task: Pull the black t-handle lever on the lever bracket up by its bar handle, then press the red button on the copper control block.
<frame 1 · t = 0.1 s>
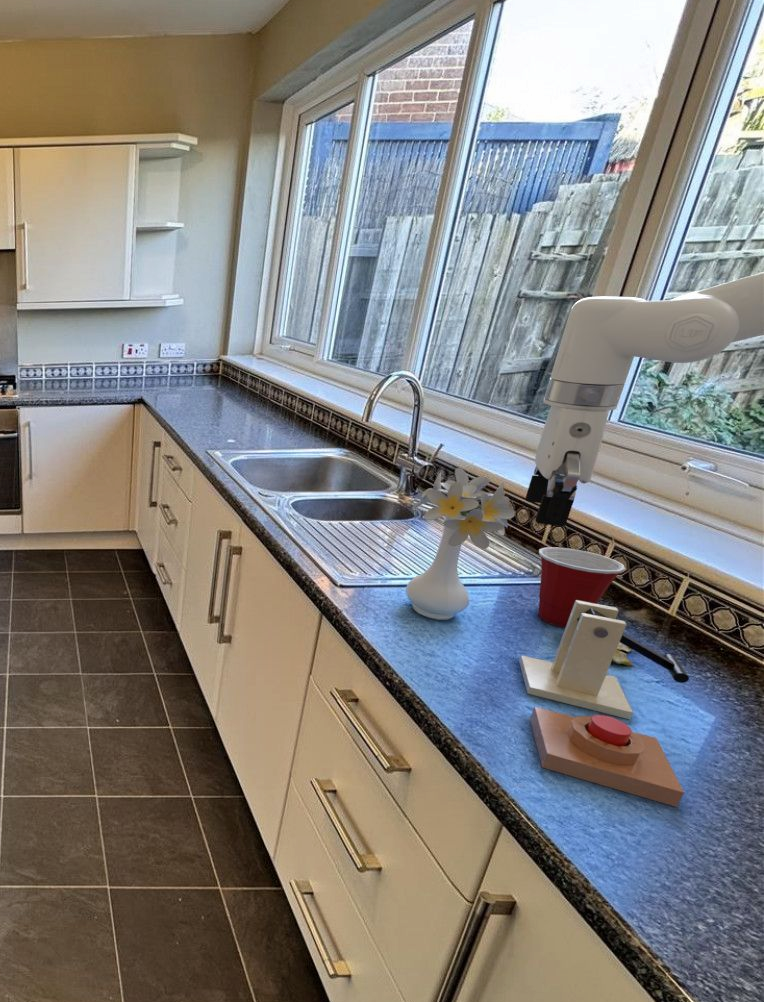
hand: (543, 512, 89), 24 cm above the countertop, tool pointing down, fingers open, 9 cm apart
plastic cup: (558, 620, 106), on the countertop
red button: (609, 730, 75), point 5 cm above the countertop, slide at 0.2 cm
lever bracket: (570, 688, 89), on the countertop
fruit: (601, 652, 97), on the countertop
control block: (596, 759, 76), on the countertop
black t-handle lever: (632, 643, 83), point 9 cm above the countertop, hinge at -25.0°
flower vase: (436, 614, 109), on the countertop
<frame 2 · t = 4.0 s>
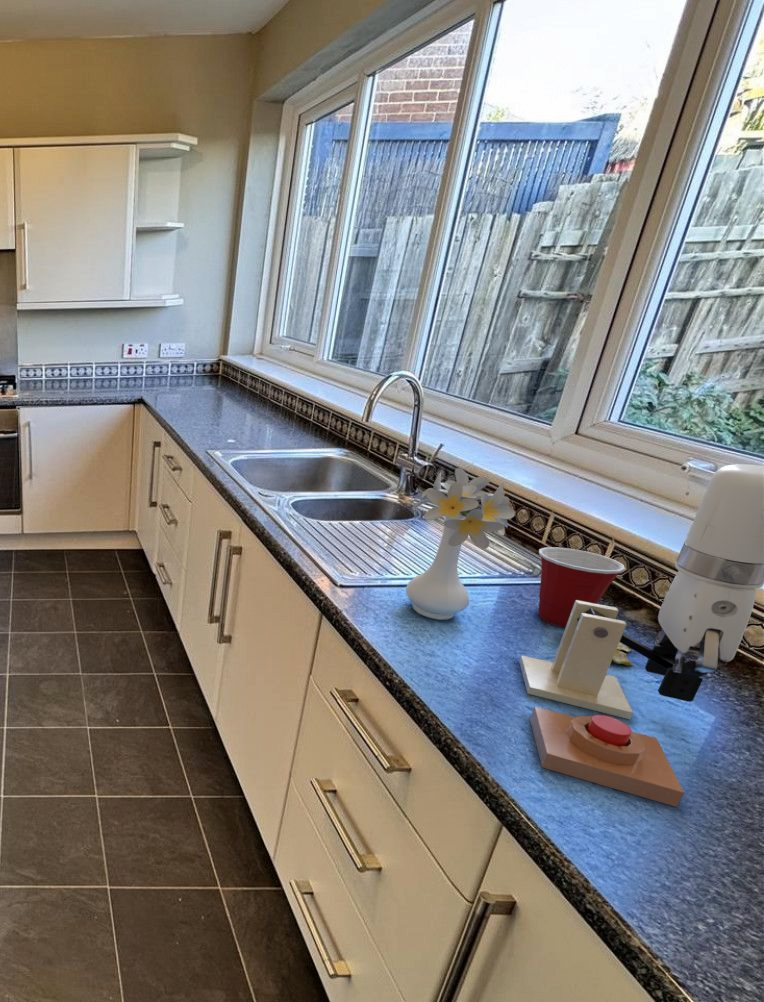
hand: (667, 684, 83), 4 cm above the countertop, tool pointing down, fingers closed on black t-handle lever, 5 cm apart
black t-handle lever: (632, 643, 83), point 9 cm above the countertop, hinge at -25.0°, touching gripper
everything else where it was.
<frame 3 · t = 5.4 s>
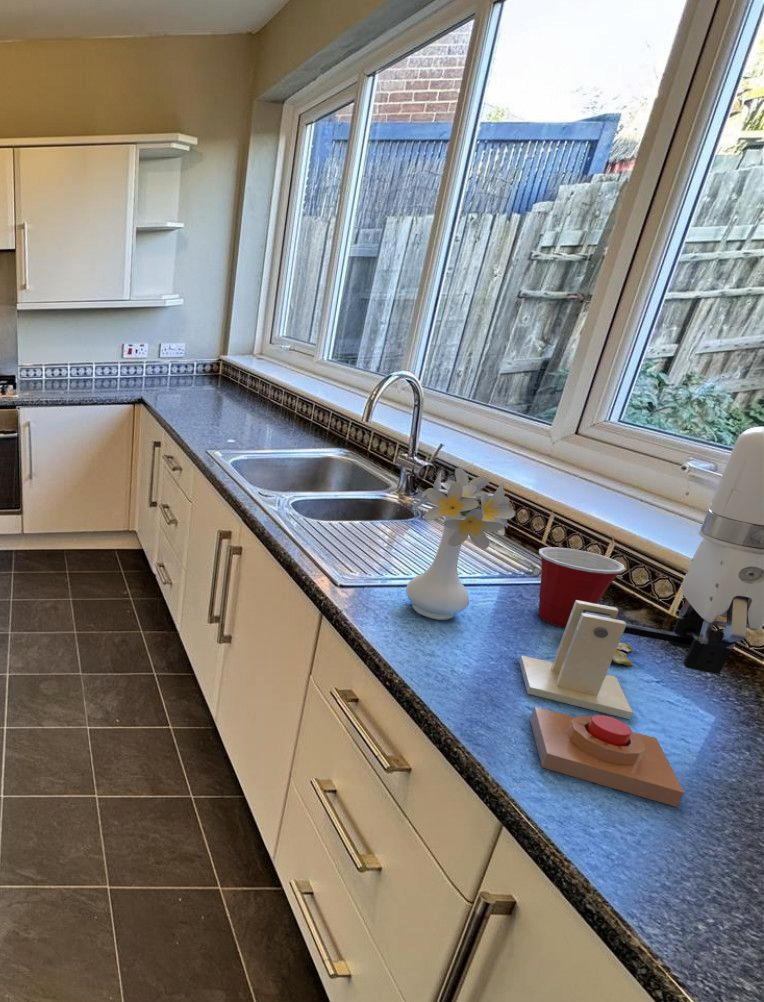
hand: (693, 656, 81), 9 cm above the countertop, tool pointing down, fingers closed on black t-handle lever, 5 cm apart
black t-handle lever: (641, 631, 82), point 11 cm above the countertop, hinge at 1.5°, touching gripper
everything else where it was.
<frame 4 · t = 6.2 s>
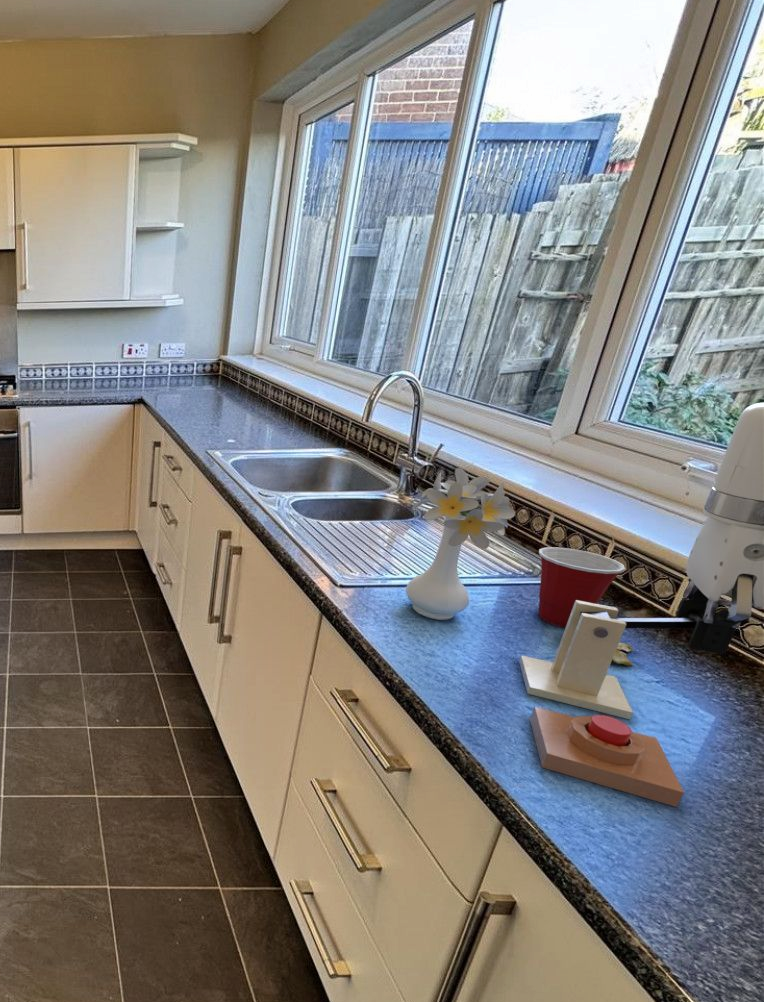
hand: (697, 637, 80), 12 cm above the countertop, tool pointing down, fingers closed on black t-handle lever, 5 cm apart
black t-handle lever: (643, 623, 82), point 12 cm above the countertop, hinge at 16.7°, touching gripper
everything else where it was.
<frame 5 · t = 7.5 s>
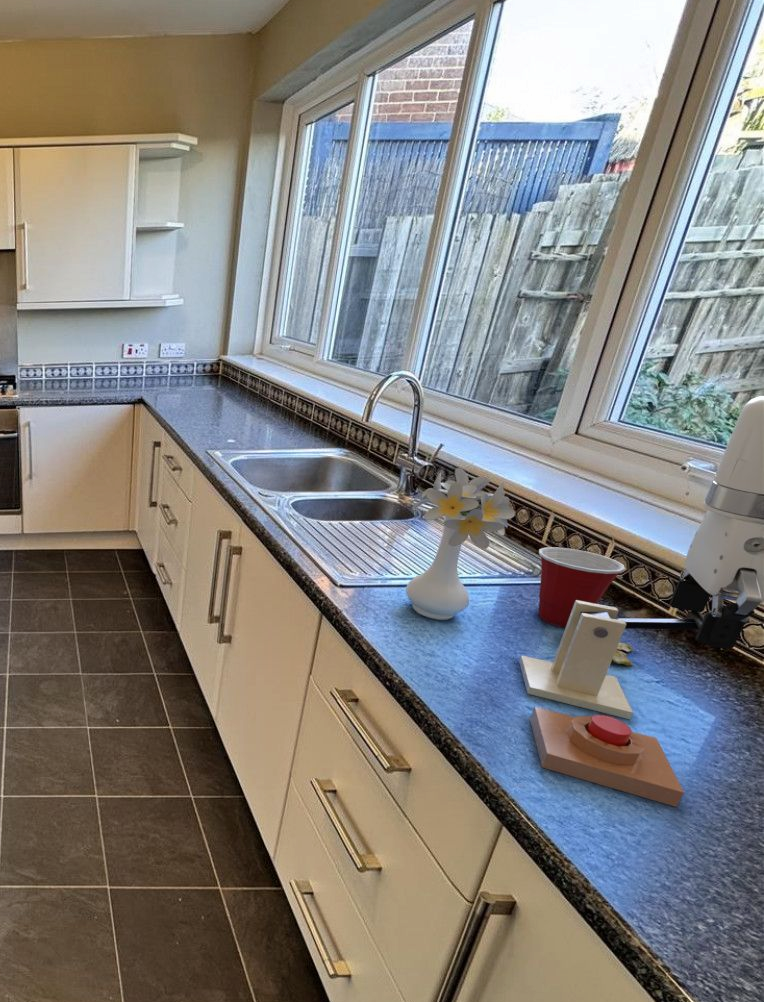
hand: (698, 626, 79), 13 cm above the countertop, tool pointing down, fingers open, 9 cm apart
black t-handle lever: (643, 623, 82), point 12 cm above the countertop, hinge at 15.7°
everything else where it was.
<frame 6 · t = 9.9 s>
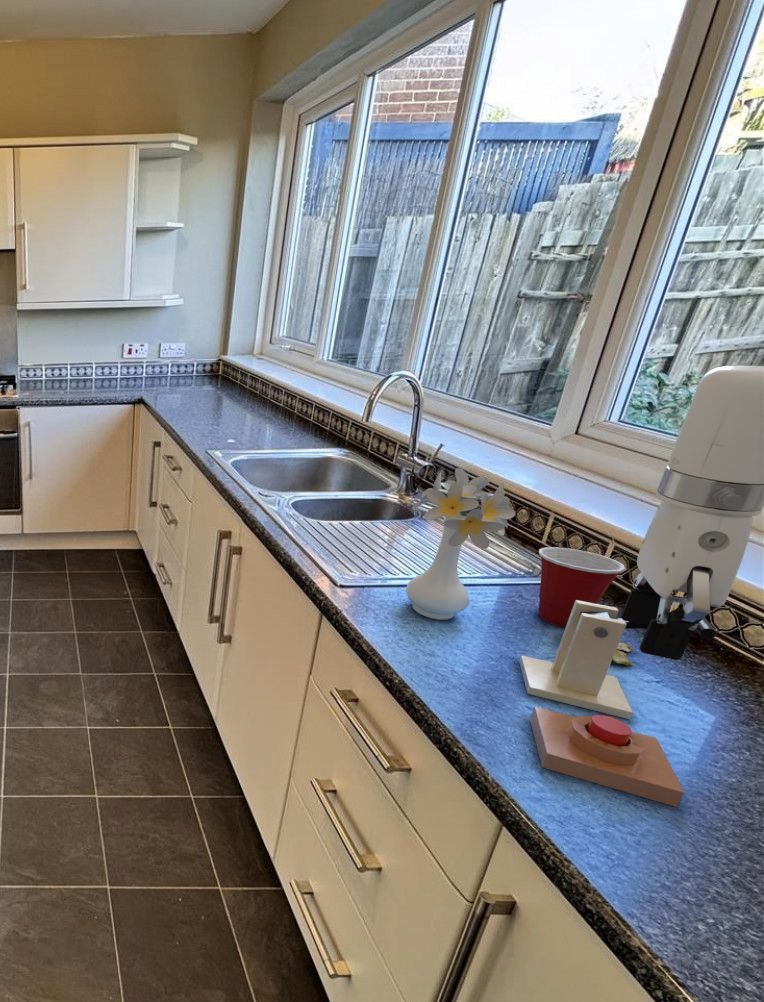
hand: (648, 637, 70), 18 cm above the countertop, tool pointing down, fingers open, 6 cm apart
nothing on the countertop moved.
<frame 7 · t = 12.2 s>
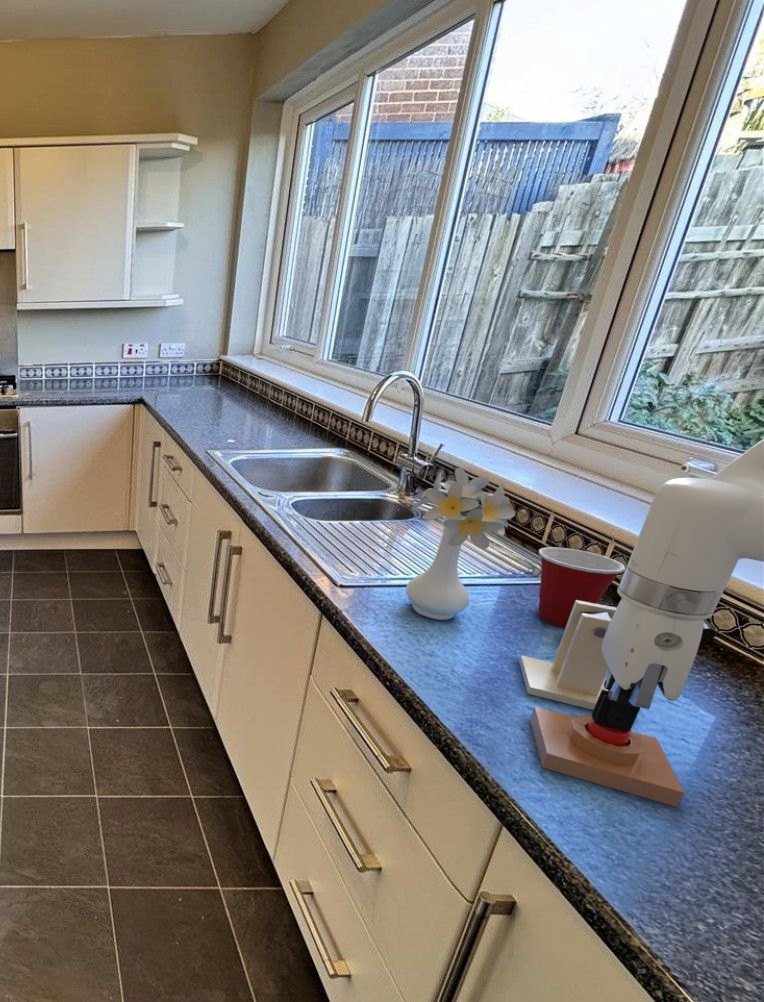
hand: (609, 724, 74), 5 cm above the countertop, tool pointing down, fingers closed
red button: (609, 730, 75), point 5 cm above the countertop, slide at 0.1 cm, touching gripper
everything else where it was.
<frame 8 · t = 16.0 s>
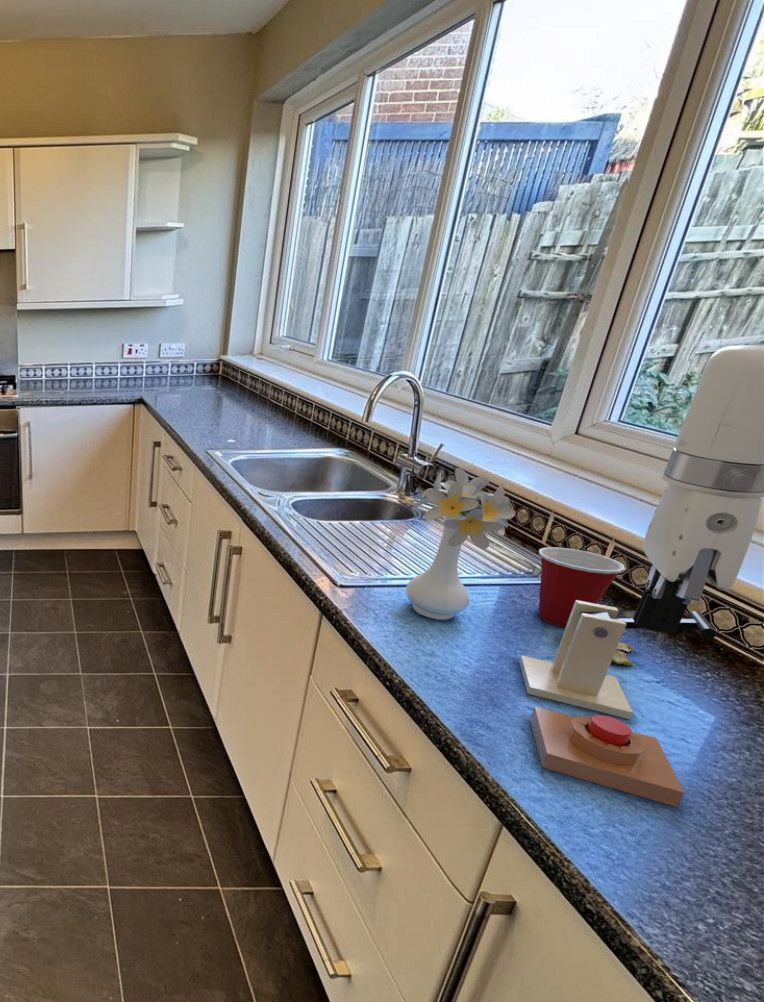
hand: (652, 627, 69), 19 cm above the countertop, tool pointing down, fingers closed
red button: (609, 730, 75), point 5 cm above the countertop, slide at 0.1 cm
everything else where it was.
at the end: black t-handle lever at +16° (first picture: -25°); red button pushed in 1.1 cm at the most during the clip, back to where it started at the end; red button slide at 0.1 cm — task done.
